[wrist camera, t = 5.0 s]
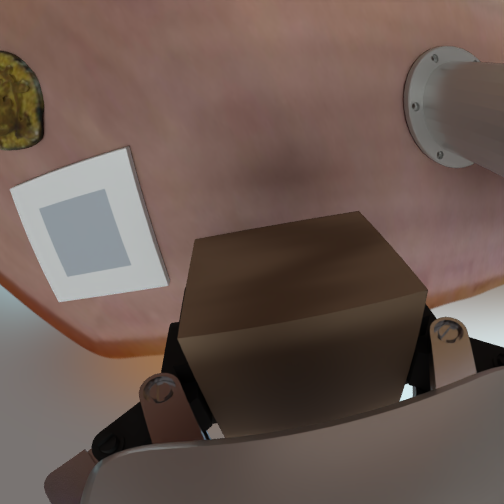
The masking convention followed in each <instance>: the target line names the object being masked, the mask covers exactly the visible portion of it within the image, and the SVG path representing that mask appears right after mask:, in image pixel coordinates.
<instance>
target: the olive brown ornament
mask: <svg viewBox="0 0 504 504" xmlns="http://www.w3.org/2000/svg"><path fill="white" fill-rule="evenodd" d="M43 111H44V101H43V95H42V91H41V87H40V84H39V81H38V79H37V77H36V75H35V74H34V72H33V71H32V70H31V69H30V68H29V67H28V65H27V64H26V63H25V62H24V61H23V60H22V59H20V58H18V57H17V56H15V55H13V54H11V53H8V52H4V51H0V149H1V150H20V149H25V148H28V147H32V146H33V145H35V144H37V143H38V142H39V141H40V140H41V139H42V137H43V121H42V114H43Z"/></svg>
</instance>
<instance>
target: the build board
mask: <svg viewBox="0 0 504 504" xmlns="http://www.w3.org/2000/svg"><path fill="white" fill-rule="evenodd" d="M10 191H11V194H12V197H13V200H14V203H15V205H16V208H17V211H18V213H19V216H20V219H21V221H22V224H23V226H24V229H25V231H26V234H27V236H28V238H29V241H30V243H31V245H32V248H33V250H34V252H35V255H36V257H37V259H38V261H39V263H40V265H41V268H42V270H43V272H44V274H45V276H46V278H47V280H48V282H49V284H50V286H51V288H52V290H53V292H54V294H55V296H56V297H57V299H58V301H59V302H63V301H70V300H77V299H84V298H91V297H98V296H104V295H111V294H118V293H124V292H131V291H138V290H144V289H151V288H157V287H163V286H168V285H169V282H170V279H169V276H168V273H167V270H166V267H165V265H164V262H163V259H162V256H161V253H160V250H159V247H158V243H157V240H156V237H155V234H154V231H153V228H152V225H151V221H150V218H149V215H148V212H147V208H146V205H145V201H144V198H143V195H142V191H141V188H140V184H139V180H138V177H137V173H136V170H135V166H134V162H133V158H132V155H131V151H130V147H129V146H127V147H124V148H120V149H117V150H114V151H110V152H107V153H104V154H101V155H97V156H94V157H91V158H88V159H85V160H82V161H79V162H76V163H73V164H70V165H68V166H65V167H62V168H59V169H57V170H54V171H51V172H49V173H46V174H43V175H41V176H38V177H36V178H33V179H31V180H28V181H26V182H23V183H21V184H19V185H16V186H14V187H13V188H11V189H10Z"/></svg>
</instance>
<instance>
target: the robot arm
mask: <svg viewBox="0 0 504 504" xmlns="http://www.w3.org/2000/svg"><path fill="white" fill-rule="evenodd" d="M412 104H413V108H412ZM404 110H405V115H406V121H407V124H408V127H409V130H410V133H411V135H412V136H413V138H414V140H415V142H416V144H417V145H418V146H419V148H420V149H421V150H422V152H423V153H425V154H426V155H427V156H428V157H429V158H430V159H432V160H434V161H435V162H437V163H439V164H441V165H444V166H446V167H451V168H464V167H467V166H470V165H472V164H474V163H476V164H478V165H480V166H482V167H484V168H486V169H488V170H490V171H492V172H494V173H496V174H498V175H500V176H502V177H504V64H500V63H487V62H480V61H479V60H478V59H477V58H476V57H475V56H474V55H472V54H471V53H469V52H468V51H466V50H464V49H461V48H458V47H454V46H441V47H435V48H432V49H430V50H427V51H426V52H425V53H423V54H422V55H421V56H420V57H419V58H418V59H417V60H416V61H415V63H414V64H413V66H412V68H411V70H410V72H409V74H408V77H407V80H406V84H405V91H404ZM185 290H186V288H185ZM184 296H185V291H184ZM183 301H184V297H183ZM182 307H183V302H182ZM181 313H182V308H181ZM180 319H181V314H180ZM179 325H180V320H179V322H175V323H171V324H170V327H169V332H168V337H167V342H166V348H165V353H164V359H163V365H162V370H161V373H159V374H155V375H153V376H151V377H149V378H148V379H146V380H145V381H144V383H143V384H142V385H141V387H140V390H139V398H140V402H139V403H137V404H136V405H135V406H134V407H133V408H131V409H130V410H129V411H127V412H126V413H125V414H123V415H122V416H121V417H119V418H118V419H117V420H115V421H114V422H113V423H111V424H110V425H109V426H108V427H106V428H105V429H103V430H102V431H101V432H100V433H99V434H97V435H96V437H95V438H94V440H93V443H92V449H90V450H89V451H87V450H86V449H85V450H83V451H82V452H80V453H79V454H77V455H76V456H75V457H73V458H72V459H70V460H69V461H67V462H66V463H65V464H63V465H62V466H60V467H59V468H57V469H56V470H54V471H53V472H51V473H50V474H49V475H48V476H47V478H46V480H45V482H44V489H45V493H46V495H47V496H48V498H49V500H50V502H51V504H504V348H503V347H500V346H497V345H493V344H490V343H487V342H483V341H480V340H477V339H473V338H470V337H469V336H468V332H467V329H466V327H465V326H464V324H463V323H462V322H460V321H459V320H457V319H454V318H451V317H442V318H438V319H436V317H435V316H434V315H433V313H432V312H431V310H430V309H429V308H428V306H427V305H426V304H425V307H424V312H423V317H422V322H421V326H420V330H419V335H418V339H417V343H416V347H415V350H414V354H413V358H412V362H411V365H410V369H409V372H408V376H407V379H406V382H405V384H409V385H412V386H413V397H412V398H409V399H406V400H403V401H400V402H397V403H394V404H391V405H387V406H384V407H381V408H377V409H374V410H370V411H367V412H363V413H359V414H356V415H352V416H348V417H344V418H340V419H336V420H331V421H327V422H323V423H318V424H313V425H308V426H303V427H298V428H292V429H287V430H281V431H275V432H269V433H262V434H255V435H247V436H239V437H230V438H220V439H211V438H210V436H209V434H208V432H207V430H208V429H209V428H210V427H211V426H212V424H214V423H217V421H216V419H215V417H214V415H213V414H212V412H211V410H210V408H209V406H208V404H207V402H206V400H205V397H204V395H203V393H202V391H201V389H200V387H199V385H198V383H197V381H196V379H195V377H194V375H193V372H192V370H191V368H190V366H189V364H188V361H187V359H186V357H185V355H184V353H183V350H182V348H181V346H180V343H179V341H178V339H177V338H178V331H179Z"/></svg>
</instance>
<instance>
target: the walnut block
mask: <svg viewBox="0 0 504 504" xmlns="http://www.w3.org/2000/svg"><path fill="white" fill-rule="evenodd" d="M427 292H428V289H427V288H426V287H425V286H424V284H423V283H422V282H421V281H420V279H419V278H418V277H417V276H416V275H415V273H414V272H413V271H412V270H411V269H410V267H409V266H408V265H407V264H406V263H405V262H404V260H403V259H402V258H401V257H400V256H399V255H398V253H397V252H396V251H395V250H394V249H393V248H392V247H391V245H390V244H389V243H388V242H387V241H386V240H385V239H384V238H383V237H382V235H381V234H380V233H379V232H378V231H377V230H376V229H375V228H374V227H373V226H372V224H371V223H370V222H369V221H368V220H367V219H366V218H365V217H364V216H363V215H362V214H361V213H360V212H359V211H356V212H349V213H343V214H337V215H331V216H325V217H319V218H313V219H307V220H301V221H295V222H289V223H283V224H278V225H272V226H266V227H261V228H255V229H249V230H244V231H238V232H233V233H227V234H222V235H216V236H211V237H205V238H200V239H195V242H194V247H193V252H192V257H191V263H190V268H189V273H188V279H187V284H186V290H185V296H184V301H183V307H182V313H181V319H180V325H179V331H178V338H177V339H178V341H179V343H180V346H181V348H182V350H183V353H184V355H185V357H186V359H187V361H188V364H189V366H190V368H191V370H192V372H193V375H194V377H195V379H196V381H197V383H198V385H199V387H200V389H201V391H202V393H203V395H204V397H205V400H206V402H207V404H208V406H209V408H210V410H211V412H212V414H213V415H214V417H215V419H216V421H217V423H218V425H219V427H220V429H221V431H222V433H223V434H224V437H225V438H230V437H239V436H247V435H255V434H262V433H269V432H275V431H281V430H287V429H292V428H298V427H303V426H308V425H313V424H318V423H323V422H327V421H331V420H336V419H340V418H344V417H348V416H352V415H356V414H359V413H363V412H367V411H370V410H374V409H377V408H381V407H384V406H387V405H391V404H394V403H397V402H399V401H400V398H401V395H402V392H403V389H404V385H405V382H406V379H407V376H408V372H409V369H410V365H411V362H412V358H413V354H414V350H415V347H416V343H417V339H418V335H419V330H420V326H421V322H422V317H423V312H424V307H425V302H426V297H427Z"/></svg>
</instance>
